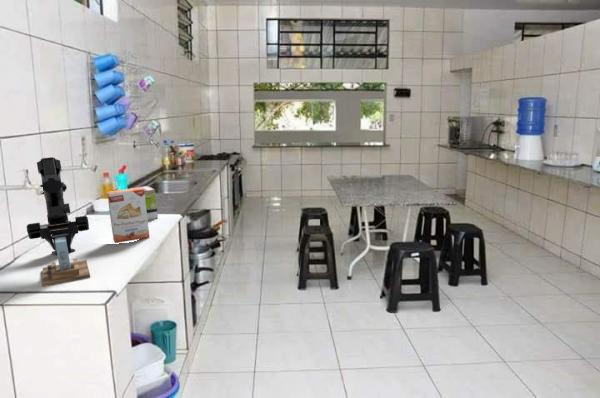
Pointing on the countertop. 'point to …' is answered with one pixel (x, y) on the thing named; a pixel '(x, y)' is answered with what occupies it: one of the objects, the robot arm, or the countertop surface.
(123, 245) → the countertop surface
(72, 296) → the countertop surface
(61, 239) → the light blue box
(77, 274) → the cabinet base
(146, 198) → the tea box
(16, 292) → the countertop surface
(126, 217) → the cracker box
